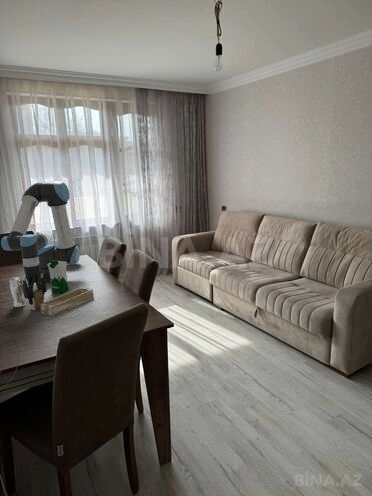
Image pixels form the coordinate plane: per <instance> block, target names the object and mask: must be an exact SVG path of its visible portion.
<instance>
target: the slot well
mask: <svg viewBox="0 0 372 496" xmlns="http://www.w3.org/2000/svg"><path fill="white" fill-rule="evenodd" d="M90 299H91V300H92V299H95V296H94V289H91V288H86V287H81V286H80V287H78V288H75V289H73V290H69V291H67V292H66V293H64V294H60V295H59V296H57V297H56V296H55V297H54V298H51V299H49V300H45V301H44V303H41V304H40V313H41V315H46V316H49V317H56V316H59V315H61V314H63V313H65V312H67V311H69V310H71V309H73V308H75V307H78V306H79V305H82V304H84V303H87V302H88V301H90Z"/></svg>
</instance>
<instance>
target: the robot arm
mask: <svg viewBox="0 0 372 496" xmlns="http://www.w3.org/2000/svg"><path fill="white" fill-rule="evenodd" d="M70 197H71V196H70V190H69V187H68V185H67V184H66V183H65V182H63V181H43V182H40V181H39V182H35V183H33V184H32V185H30V186H29V187H28V188H27V189H26V190H25V191H24V192H23V195H22V196H21V200H20V201H21V205H20V207H19V210H18V211H17V214H16V217H15V220H14V223H13V225H12V227H11V230H10V231H9V232H10V233H9V234H8V235H6V236H3V237H2V238H1V241H0V245H1V248H2V249H3V250H4V251H11V252H12V251H21V258H22V265H23V271H24V275H25V277H24V278H23V280H21V283H22V287H23V293H24V298H25V299H27V300H28V304H29V305H30V310H31V311H36V308H35V301H34V298H33V289H34V285H35V286H36V289H41V290H42V294H43V302H45V301H44V300H45V294H46V293H47V291H48V290H47V289H48V288H47V284H51V278H50V271H49V268H48V265H47V264H50V263H51V260H58V261H63V262H67V264H76V263H79V261H80V258H81V247H80V245H79V246H76V244H75V242H76V241H74V240H73V241H72V238H73V237H72V232H71V227H70V221H69V215H68V211H67V207H66V206H67V204H68V201H70ZM45 202H46V203H47V204H46V205H47V206H48V208H50V209H51V214H52V218H53V224H54V228H55V232H56V237H57V245H56V244H54V243H52V244H50V243H49V244H48V242H49V240H48V238H47V236H46V235H44V234H43V233H39V234H27V232H28V229H29V226H30V224H31V221H32V218H33V216H34V212H35V210H36V207H38V206H39V205H40V203H45ZM79 247H80V248H79ZM67 264H66V265H67Z"/></svg>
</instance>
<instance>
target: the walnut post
mask: <svg viewBox="0 0 372 496" xmlns="http://www.w3.org/2000/svg"><path fill="white" fill-rule="evenodd" d="M33 298H34V301H35V308H36V310H35V312H36V311H41V309H40V304H41V303H44V302H45V301H44V300H43V294H42V290H41V289H38V288H33ZM43 301H44V302H43Z"/></svg>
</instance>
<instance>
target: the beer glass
mask: <svg viewBox="0 0 372 496" xmlns="http://www.w3.org/2000/svg"><path fill="white" fill-rule="evenodd" d="M21 280H24V277H23V276H15V277H12V278H9V287H10V292H11V295H12V298H13V307H14V308H23V307H25V306H26V305H27V300H26V298H24V293H23V287H22V283H21Z"/></svg>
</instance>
